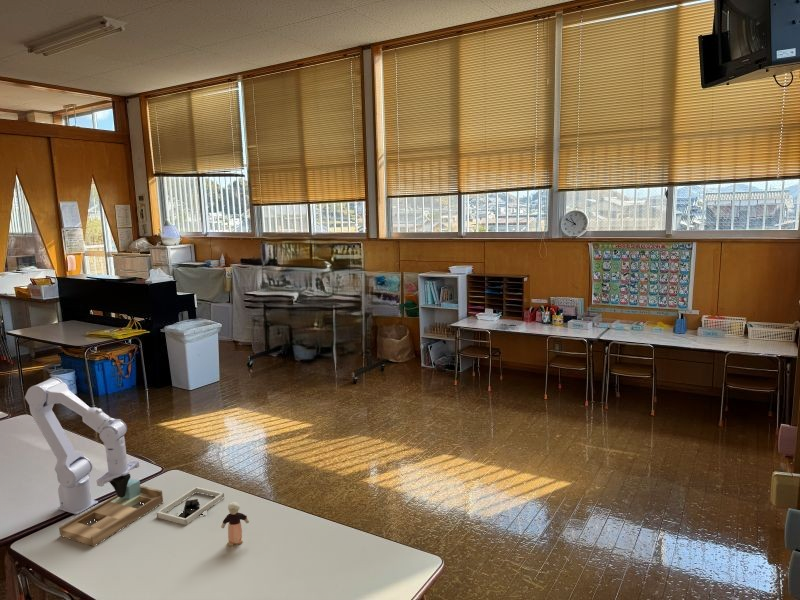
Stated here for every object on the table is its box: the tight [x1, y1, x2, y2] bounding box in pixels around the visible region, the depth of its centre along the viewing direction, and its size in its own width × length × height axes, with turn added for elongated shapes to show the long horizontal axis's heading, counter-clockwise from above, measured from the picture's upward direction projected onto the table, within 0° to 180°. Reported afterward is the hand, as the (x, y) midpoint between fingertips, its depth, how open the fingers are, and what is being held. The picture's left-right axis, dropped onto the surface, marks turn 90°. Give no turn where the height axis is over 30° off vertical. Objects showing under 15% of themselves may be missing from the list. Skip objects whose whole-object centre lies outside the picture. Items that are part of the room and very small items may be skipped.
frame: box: [155, 486, 225, 526], centre depth 180 cm, size 12×17×2 cm
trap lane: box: [58, 485, 164, 547], centre depth 174 cm, size 15×26×4 cm, turn 157°
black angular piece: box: [178, 498, 203, 518], centre depth 176 cm, size 12×7×5 cm, turn 103°
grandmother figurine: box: [220, 501, 250, 547], centre depth 159 cm, size 8×4×13 cm, turn 117°
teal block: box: [123, 477, 141, 499], centre depth 184 cm, size 4×4×4 cm
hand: (121, 496), depth 181 cm, fingers closed
